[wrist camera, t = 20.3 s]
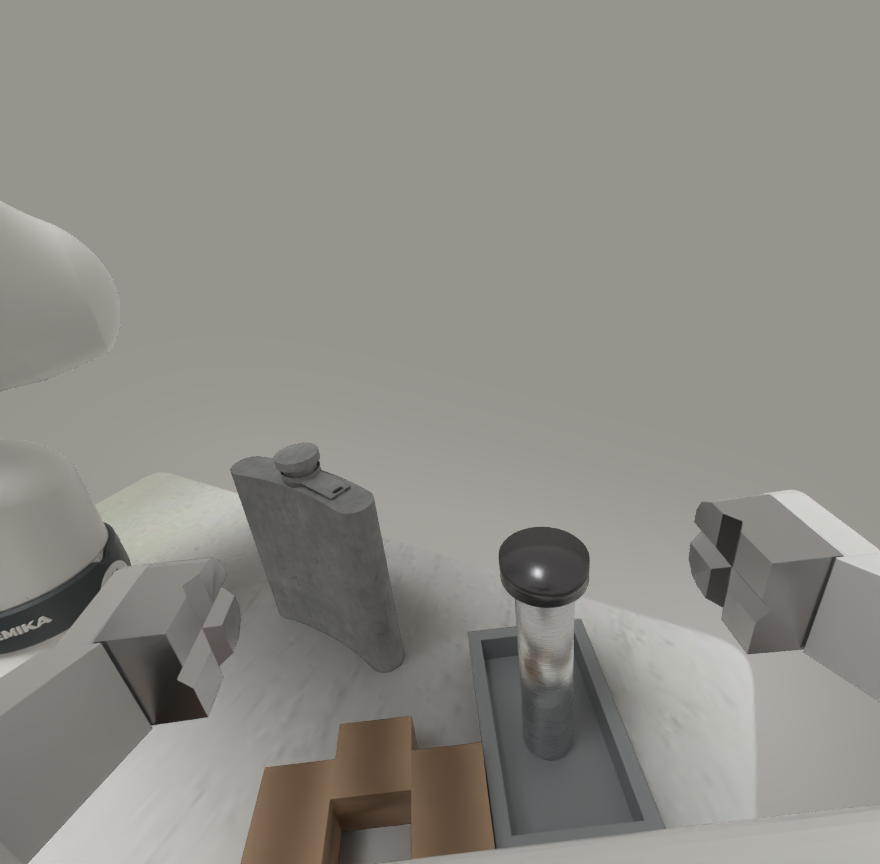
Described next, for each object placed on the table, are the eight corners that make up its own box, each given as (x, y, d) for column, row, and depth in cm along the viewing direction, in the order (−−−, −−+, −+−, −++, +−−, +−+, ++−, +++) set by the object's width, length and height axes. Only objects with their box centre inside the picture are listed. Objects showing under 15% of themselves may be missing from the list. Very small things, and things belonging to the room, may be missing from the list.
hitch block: (216, 1089, 23) (189, 1065, 21) (287, 763, 36) (274, 731, 35) (519, 1053, 23) (517, 1025, 21) (480, 741, 36) (477, 708, 35)
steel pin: (520, 777, 33) (508, 593, 26) (506, 706, 38) (492, 532, 30) (594, 767, 34) (603, 580, 26) (570, 698, 38) (573, 522, 30)
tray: (499, 882, 29) (497, 858, 28) (470, 655, 43) (468, 631, 42) (663, 863, 29) (669, 838, 28) (579, 642, 43) (581, 618, 42)
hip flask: (272, 610, 50) (214, 445, 41) (302, 585, 53) (253, 425, 44) (389, 678, 42) (347, 489, 33) (416, 644, 45) (384, 461, 36)
